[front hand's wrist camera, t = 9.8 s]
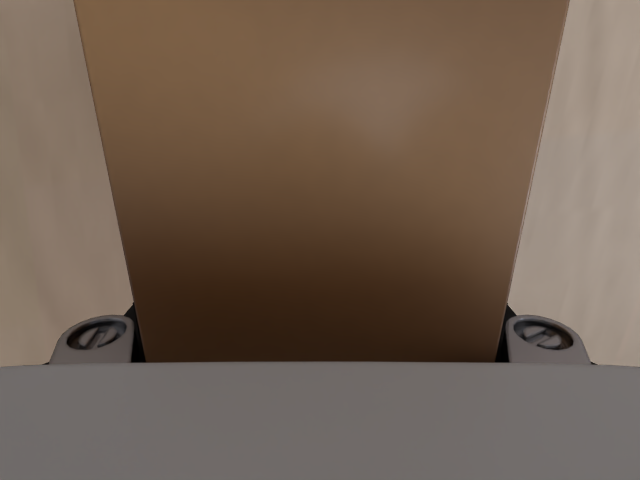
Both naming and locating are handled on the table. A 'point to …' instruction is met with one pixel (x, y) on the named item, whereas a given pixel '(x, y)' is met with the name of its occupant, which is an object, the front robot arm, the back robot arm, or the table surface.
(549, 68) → the bar
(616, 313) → the table surface
